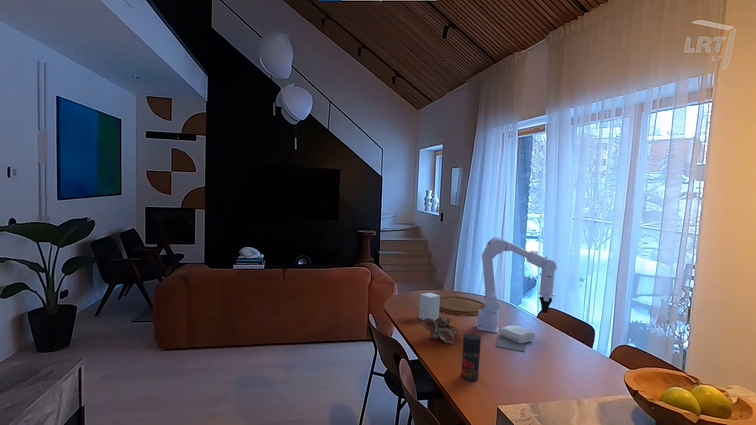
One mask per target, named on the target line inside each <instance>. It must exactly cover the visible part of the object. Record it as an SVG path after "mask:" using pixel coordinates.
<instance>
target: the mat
mask: <svg viewBox="0 0 756 425" xmlns="http://www.w3.org/2000/svg"><path fill="white" fill-rule="evenodd" d="M495 347H496V348H499V349H505V350H510V351H517V352H521V353H525V351H526V342H525V343H518V342H515V341H513V340H511V339H508V338H506V337H504V336H502V335H501V333H499V334H498V337H497V341H496V345H495Z"/></svg>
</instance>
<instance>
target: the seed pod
mask: <svg viewBox="0 0 756 425" xmlns="http://www.w3.org/2000/svg"><path fill="white" fill-rule="evenodd" d="M420 323H421V324H422V326H423V328H424V329H425V330H426V331H428V332H430V334H429V335H430V337H431V338H432V339H434V340H436V339H440V340H442V341H443V342H444V343H446V344H453V345H454V343H455V339H456V338H457V336H458V335H459V334H458V333H459V328H458V327H456V326H454V325H450V323H451V318H450V317H449V316H448V315H445V314H444V315H441V316H439V318H437V320H436V321H435V320H433V319H430V318H427V319H424V320H422V321H420Z"/></svg>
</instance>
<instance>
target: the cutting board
mask: <svg viewBox="0 0 756 425" xmlns="http://www.w3.org/2000/svg"><path fill="white" fill-rule="evenodd" d="M484 307H485V305H484V302H482V301H479V300H477V299H473V298H468V297H464V296H454V295H449V296H447V295H446V296H445V295H444V296H440V304H439V312H440V311H442V312H441V313H443V312H445V313H444V314H447V313H450V314H449V315H451V314H455V315H454V316H458V315H466V316H465V317H478V316H477V315H478V312H479V310H483V308H484Z"/></svg>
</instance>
